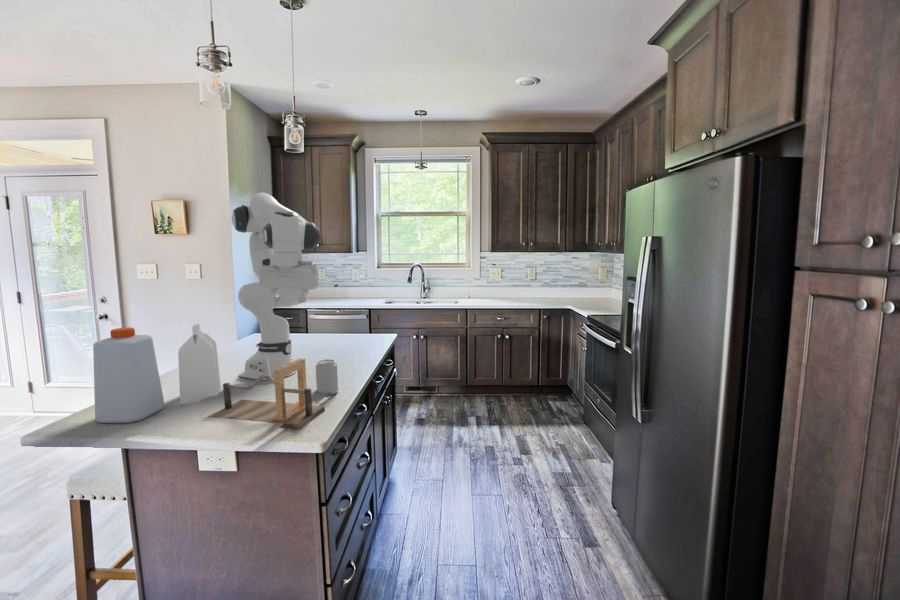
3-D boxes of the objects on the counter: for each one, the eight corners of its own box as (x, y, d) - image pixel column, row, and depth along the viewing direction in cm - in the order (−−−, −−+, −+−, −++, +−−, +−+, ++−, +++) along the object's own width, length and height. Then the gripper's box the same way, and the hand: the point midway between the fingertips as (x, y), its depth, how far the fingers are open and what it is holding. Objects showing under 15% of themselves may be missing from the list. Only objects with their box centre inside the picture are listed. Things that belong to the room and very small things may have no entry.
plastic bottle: (127, 406, 145) (118, 324, 141) (170, 406, 144) (163, 324, 141) (88, 424, 130) (77, 334, 126) (136, 424, 129) (127, 333, 126)
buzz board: (208, 421, 131) (204, 379, 129) (242, 403, 145) (239, 365, 144) (298, 429, 124) (295, 385, 122) (324, 410, 138) (322, 370, 137)
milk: (186, 393, 156) (179, 323, 153) (221, 389, 161) (216, 321, 158) (180, 404, 145) (173, 329, 142) (218, 399, 150) (212, 326, 147)
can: (332, 397, 151) (330, 364, 149) (313, 396, 152) (311, 363, 151) (341, 390, 158) (340, 358, 157) (323, 389, 160) (321, 357, 158)
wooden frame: (272, 420, 127) (269, 369, 125) (298, 405, 139) (295, 358, 138) (287, 422, 126) (284, 370, 124) (311, 406, 138) (309, 359, 136)
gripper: (321, 260, 143) (322, 301, 145) (267, 259, 147) (269, 299, 150) (310, 262, 137) (312, 304, 139) (255, 260, 141) (257, 301, 144)
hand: (289, 301), depth 144 cm, fingers open, 8 cm apart
